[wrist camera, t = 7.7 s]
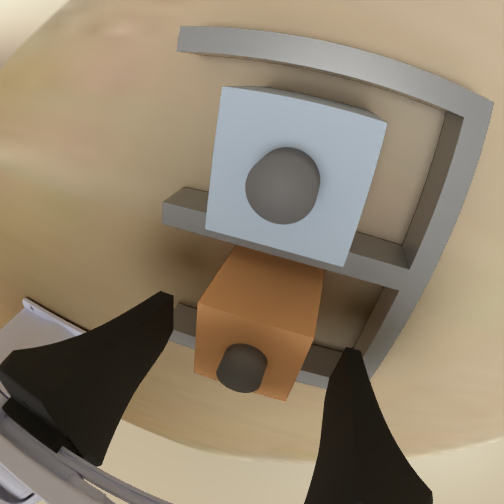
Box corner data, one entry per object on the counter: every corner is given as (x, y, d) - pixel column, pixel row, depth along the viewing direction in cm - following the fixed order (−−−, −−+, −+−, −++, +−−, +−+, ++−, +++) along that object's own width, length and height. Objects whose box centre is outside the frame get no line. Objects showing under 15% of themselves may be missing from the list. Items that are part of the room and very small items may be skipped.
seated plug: (251, 179, 13) (190, 245, 8) (267, 86, 11) (206, 86, 6) (344, 204, 13) (342, 287, 8) (368, 110, 11) (394, 127, 6)
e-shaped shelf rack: (178, 315, 18) (163, 337, 17) (203, 33, 10) (180, 26, 9) (359, 369, 17) (358, 396, 15) (472, 99, 9) (494, 102, 7)
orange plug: (230, 302, 17) (184, 389, 12) (241, 236, 15) (185, 321, 10) (303, 324, 16) (280, 421, 11) (325, 260, 14) (310, 360, 9)
